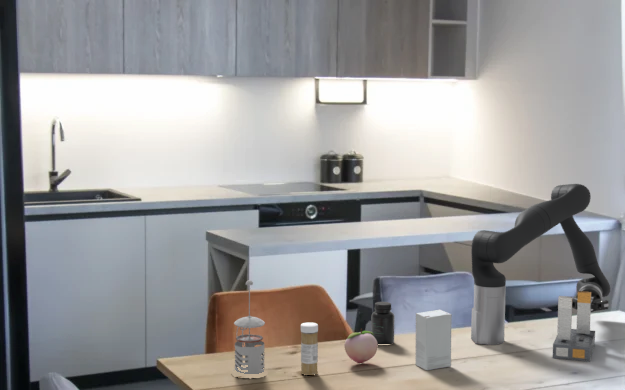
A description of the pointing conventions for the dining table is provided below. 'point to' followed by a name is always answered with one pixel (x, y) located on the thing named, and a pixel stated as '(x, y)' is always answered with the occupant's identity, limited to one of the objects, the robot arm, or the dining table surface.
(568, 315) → the grey upright block
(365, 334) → the decorative fruit
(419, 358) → the skincare box
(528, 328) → the dining table surface
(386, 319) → the supplement bottle
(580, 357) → the console
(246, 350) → the french press
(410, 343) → the dining table surface
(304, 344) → the sprinkles bottle
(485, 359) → the dining table surface
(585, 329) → the knob orange
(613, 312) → the dining table surface
